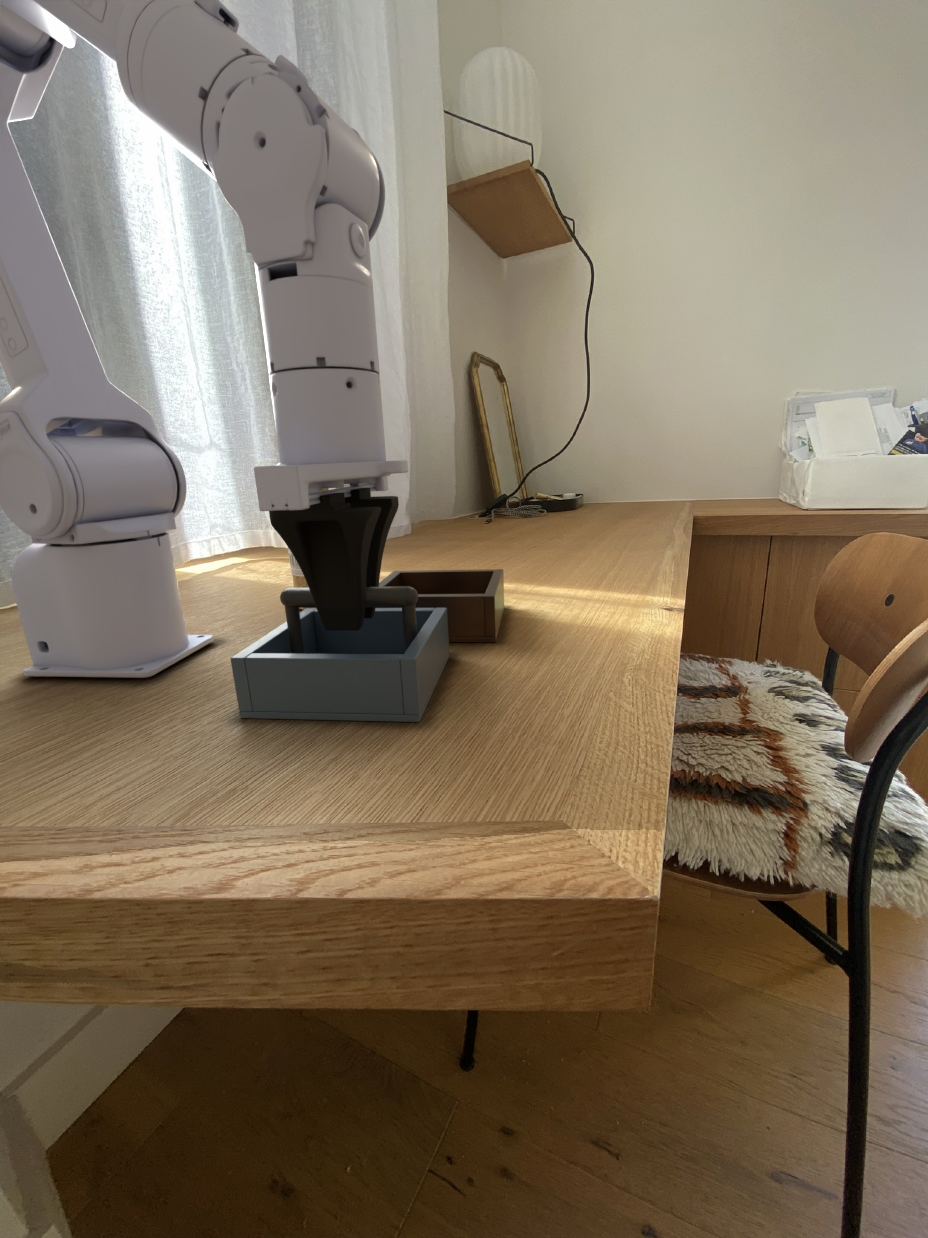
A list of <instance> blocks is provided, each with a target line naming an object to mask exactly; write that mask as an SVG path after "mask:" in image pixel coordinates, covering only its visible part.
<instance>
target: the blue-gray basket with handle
mask: <svg viewBox="0 0 928 1238" xmlns="http://www.w3.org/2000/svg"><path fill="white" fill-rule="evenodd" d="M279 599H280V603H281V604H282V605H283V606H284V610H285V619H286V621H285V622H283V623H282V624H280V625H279V626H277V627H276V628H274V629H273V630H271V631H270V632H267V633H266V634H265V635H263V636H262V637H261V638H259V639H257V640H256V641H254V642H253V643H251V644H249V645H248V646H246V647H245V648H244V649H242V650H241V651H239V652H238V653H237V652H236V654H234V655H233V656H232V657H230V665H231V670H232V676H233V682H234V688H235V694H236V701H237V705H238V711H239V718H240V719H264V720H265V719H271V720H311V721H315V720H317V721H355V722H356V721H357V722H397V723H398V722H401V723H420V722H421V720H422V718H423V715H424V713H425V711H426V709H427V706H428V705H429V702H430V700H431V698H432V696H433V694H434V691H435V689H436V687H437V686H438V685H437V684H438V682H439V680H440V678H441V676H442V673H443V671H444V669H445V667H446V665H447V663H448V660H449V658H450V642H449V637H448V618H447V608H416V607H415V604H416V602H417V600H418V593H417V591H416V590H415V589H414V588H412V587H409V586H396V587H366V606H365V607H402V608H375V612H374V616H373V617H372V618H364V621H363V626H362V628H361V629H360V630H325V628H324V625H323V623H322V621H321V618H320V616H319V613H318V611H317V609H316V605H315V603H314V600H313V597H312V595H311V592H310V589H309V588H294V587H287V588H284V589H283V590H282V591H281V593H280V596H279ZM299 608H306V609H305V610H301V611H300V609H299Z"/></svg>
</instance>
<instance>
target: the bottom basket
mask: <svg viewBox="0 0 928 1238" xmlns="http://www.w3.org/2000/svg"><path fill="white" fill-rule="evenodd" d="M504 581H505V580H504V569H503V568H496V569H495V568H493V569H491V568H489V569H483V568H482V569H426V570H425V569H424V570H421V569H420V570H418V569H417V570H415V569H413V570H393V571H392V572H391V573H389V574H388V575H387V576H386V577H384V578H383V579H381V581H379V587H396V586H409V587H412V588H414V589H415V590H416V591H417V593H418V600H417V602H416V604H415V607H416V608H447V618H448V637H449V643H496V642H497V638H498V636H499V635H498V634H499V630H500V626H501V622H502V618H503V614H504V609H505V582H504ZM376 608H402V607H376Z"/></svg>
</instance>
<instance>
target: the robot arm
mask: <svg viewBox="0 0 928 1238" xmlns="http://www.w3.org/2000/svg"><path fill="white" fill-rule="evenodd" d="M239 27H240V21H239V19H238V18H237V16H236V15H234V13H232V11H230V10H229V8H227V7H226V5H224V4H223V2H221V1H220V0H0V364H1V367H2V370H3V372H4V373H5V374H4V375H5V376H6V379H7V382H8V383H9V386H10V388H11V391H10V393H8V394H7V395H6V396H5V397H3V399H2V400H1V401H0V508H1V510H2V512H3V513H4V515H5V516H6V517H7V519H9V520H10V521H11V522H12V523H13V524H14V525H15V526H16V528H18V529H19V530H20V531H21V532H23V533H24V534H26V535H28V536H29V537H30V539H31V542H32V544H31V543H30V544H29V545H28V546H26V547H25V548H24V549H23V550H21V551H20V552H19V554H18V555H17V557H16V558H15V560H14V562H13V563H14V564H13V567H12V570H11V587H12V592H13V595H14V599H15V604H16V607H17V611H18V614H19V618H20V621H21V625H22V626H21V627H22V629H23V632H24V636H25V640H26V644H27V648H28V651H29V655H30V658H31V663H32V665H30V666H28V667H26V668H24V669H23V670H22V673H23V676H24V677H43V678H44V677H48V678H51V677H52V678H53V677H54V678H55V677H56V678H57V677H58V678H124V679H125V678H126V679H128V678H129V679H131V678H132V679H133V678H134V679H135V678H136V679H137V678H138V679H144V678H145V679H146V678H150V677H153V676H155V675H157V674H158V673H160V672H163V670H165V669H167V668H169V667H171V666H172V665H175V664H176V663H178V662H180V661H182V660H183V659H184V658H185V659H186V657H188V656H190V655H191V654H194V653H195V652H197V651H198V650H200V649H202V648H204V647H206V646H208V645H209V644H211V643H212V642H214V641H215V635H213V634H188V630H187V625H186V619H185V618H186V617H185V614H184V608H183V604H182V598H181V592H180V587H179V582H178V577H177V571H176V566H175V561H174V556H173V551H172V550H173V549H172V545H171V540H170V534H169V531H172V530H176V529H177V526H176V524H177V523H176V519H175V518H176V517H177V516H178V515H179V514H180V513H181V511H182V510H183V507H184V506H185V503H186V497H187V478H186V474H185V470H184V468H183V465H182V463H181V460H180V459H179V457H178V455H177V454H176V452H175V451H174V450H173V449H172V447H171V446H170V445H169V444H168V443H167V442H166V441H165V440H164V438H163V437H162V435H161V434H160V432H159V429H158V428H157V425H156V422H155V420H154V418H153V415H152V413H150V411H149V410H147V409H146V408H145V407H144V406H142V405H141V404H139V403H138V402H137V401H136V400H134V399H133V398H132V397H130V396H129V395H128V394H126V393H125V392H123V391H122V390H120V389H119V388H118V387H117V386H115V384H113V383H112V382H111V381H110V380H109V379H108V376H107V374H106V372H105V368H104V366H103V363H102V361H101V359H100V356H99V353H98V351H97V348H96V345H95V343H94V340H93V338H92V335H91V333H90V331H89V328H88V325H87V323H86V321H85V320H86V319H85V318H84V315H83V312H82V310H81V308H80V305H79V302H78V300H77V297H76V295H75V292H74V290H73V288H72V285H71V283H70V280H69V277H68V275H67V272H66V269H65V267H64V265H63V262H62V259H61V256H60V255H59V254H60V253H59V252H58V250H57V247H56V244H55V241H54V240H53V237H52V235H51V232H50V230H49V227H48V223H47V221H46V219H45V217H44V214H43V212H42V209H41V207H40V204H39V201H38V199H37V197H36V194H35V192H34V189H33V187H32V183H31V181H30V179H29V177H28V174H27V172H26V169H25V166H24V164H23V161H22V159H21V157H20V153H19V151H18V147H17V146H16V144H15V141H14V138H13V135H12V133H11V131H10V128H9V123H12V122H18V121H19V122H20V121H25V120H31V119H34V117H35V115H36V112H37V110H38V108H39V106H40V103H41V101H42V98H43V96H44V94H45V91H46V89H47V87H48V85H49V82H50V80H51V78H52V75H53V73H54V71H55V69H56V67H57V64H58V62H59V60H60V57H61V55H62V52H63V51H64V49H65V48H64V47H66V48H67V49H73V48H74V47H76V42H77V38H78V37H80V38H81V39H82V40H84V41H86V42H87V43H88V44H89V45H91V46H92V47H93V48H94V49H96V50H97V51H98V52H100V53H101V54H103V55H104V56H105V57H106V58H108V59H109V60H110V61H111V62H113V63H115V64H116V69H117V73H118V78H119V81H120V84H121V87H122V89H123V92H124V94H125V97H126V98H127V101H128V102H129V104H130V106H131V107H132V109H133V110H134V112H135V113H136V115H138V117H139V118H141V120H142V121H144V123H146V124H147V125H148V126H149V127H151V128H152V129H153V130H154V131H155V132H157V134H159V135H160V136H161V137H162V138H164V139H165V140H166V141H167V142H169V143H170V144H171V145H172V146H173V147H175V148H176V149H177V150H178V151H179V152H180V153H182V154H183V155H184V156H185V157H187V158H188V159H189V160H190V161H192V163H194V164H195V165H196V166H197V167H199V168H200V169H201V170H202V171H204V172H205V173H206V174H207V175H208V176H209V177H211V178H212V179H213V180H215V182H216V183H217V186H218V188H219V191H220V193H221V194H222V196H223V198H224V199H225V201H226V202H227V204H228V205H229V207H231V209H232V210H233V211H234V212H235V214H236V215H237V217H238V219H239V222H240V224H241V228H242V233H243V239H244V240H243V241H244V248H245V253H246V254H248V255H250V256H251V260H252V262H253V263H254V270H255V277H256V286H257V293H258V301H259V309H260V318H261V324H262V331H263V332H262V333H263V339H264V348H265V355H266V363H267V364H266V365H267V371H268V379H269V380H268V381H269V388H270V397H271V403H272V411H273V419H274V427H275V434H276V435H275V436H276V442H277V450H278V451H277V452H278V457H279V458H278V459H279V463H280V466H276V465H260V466H254V467H253V472H254V473H253V474H254V479H255V487H256V494H257V500H258V501H257V502H258V508H259V511H260V512H268V515H269V521H270V525H271V527H272V528H273V529H274V530H275V532H276V533H277V534H278V536H280V538H281V539H282V540H283V542H284V543H285V545H286V546H287V549H288V548H289V549H290V551H291V552H292V554H293V556H294V557H295V559H296V561H297V563H298V565H299V567H300V569H301V571H302V573H303V575H304V577H305V579H306V582H307V584H308V587H309V589H310V592H311V595H312V597H313V600H314V603H315V605H316V608H317V611H318V613H319V616H320V618H321V621H322V623H323V625H324V628H325V630H360V629H361V628H362V626H363V621H364V618H372V617H373V616H374V612H375V608H376V607H365V606H366V587H379V582H380V576H381V571H382V562H383V558H384V557H383V556H384V552H385V547H386V543H387V540H388V535H389V532H390V529H391V526H392V524H393V522H394V519H395V517H396V514H397V512H398V510H399V507H400V506H399V505H400V504H399V497H398V496H397V495H384V496H383V495H381V496H380V495H379V496H378V495H377V496H372V492H385V491H388V490H389V483H388V482H389V481H388V477H389V476H391V475H392V474H393V475H394V474H405V473H408V472H409V465H408V460H407V459H404V460H403V459H402V460H401V459H400V460H387V454H386V442H385V430H384V429H385V428H384V426H385V425H384V415H383V414H384V413H383V402H382V390H381V376H380V361H379V347H378V335H377V334H378V333H377V322H376V308H375V307H376V306H375V296H374V295H375V294H374V284H373V282H374V281H373V272H372V260H371V259H372V258H371V249H370V248H371V247H370V242H371V241H372V239H373V238H374V236H375V235H376V233H377V231H378V229H379V227H380V224H381V221H382V219H383V216H384V215H383V214H384V211H385V210H384V209H385V205H386V204H385V203H386V186H385V185H386V183H385V178H384V174H383V171H382V167H381V164H380V162H379V161H378V159H377V157H376V156H375V154H374V153H373V151H372V150H371V148H370V147H369V146H368V144H367V143H366V141H365V140H364V139H363V138H362V136H361V135H360V133H359V132H358V131H357V130H356V129H355V128H353V127H351V126H350V125H349V124H348V123H347V122H346V121H345V120H344V119H343V118H342V117H341V116H340V115H339V114H338V113H337V112H336V111H335V110H334V109H333V108H332V107H331V106H330V105H329V104H327V103H326V102H325V100H324V99H322V97H321V96H319V94H318V93H316V92H315V91H314V90H313V89H312V87H310V86H309V85H310V84H309V79H308V77H307V75H306V74H305V73H304V72H303V71H302V70H301V69H300V68H299V67H298V66H296V64H294V62H292V61H291V60H290V59H288V58H287V57H285V56H284V55H283V54H279V55H277V57H276V58H275V62H274V61H272V60H271V59H270V58H268V57H267V56H266V55H264V54H263V53H262V52H261V51H260V50H259V49H257V48H256V47H255V46H253V45H252V44H250V43H249V42H248V41H246V40H245V39H244V38H243V37H242V36H241V35H239V34H238V30H239ZM345 485H349V486H345ZM323 488H329V490H325V491H321V489H323Z"/></svg>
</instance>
